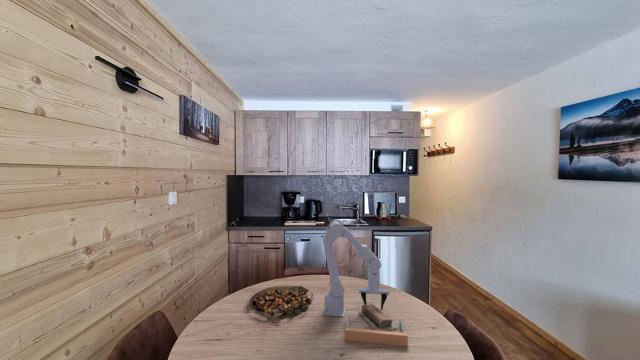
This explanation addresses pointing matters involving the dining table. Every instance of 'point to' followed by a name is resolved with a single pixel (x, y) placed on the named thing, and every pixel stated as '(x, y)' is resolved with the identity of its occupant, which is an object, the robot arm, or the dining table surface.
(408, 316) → the dining table surface
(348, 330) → the channel
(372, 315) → the packaged product
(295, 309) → the food dish
